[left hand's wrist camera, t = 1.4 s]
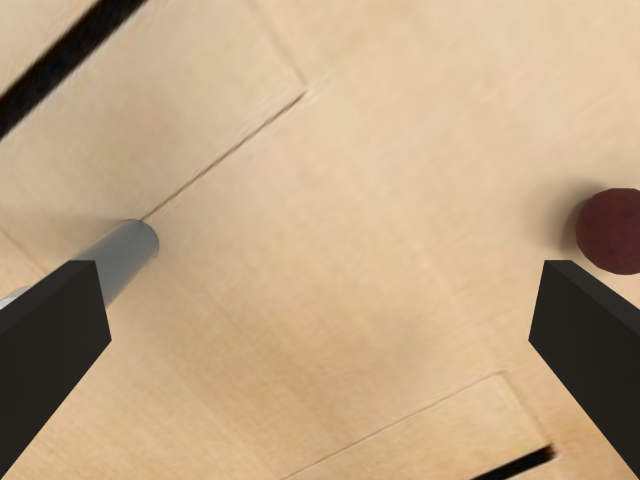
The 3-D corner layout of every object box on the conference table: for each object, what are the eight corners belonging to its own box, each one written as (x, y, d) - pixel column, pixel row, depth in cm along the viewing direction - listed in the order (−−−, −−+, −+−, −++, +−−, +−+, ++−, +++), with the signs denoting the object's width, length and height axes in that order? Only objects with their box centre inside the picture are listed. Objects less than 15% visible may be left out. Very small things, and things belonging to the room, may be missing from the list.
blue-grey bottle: (105, 221, 41) (-16, 301, 26) (153, 217, 41) (58, 295, 26) (118, 266, 43) (11, 364, 28) (164, 261, 43) (81, 358, 28)
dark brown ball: (577, 267, 43) (624, 302, 36) (547, 206, 40) (591, 230, 34) (649, 229, 41) (711, 258, 35) (621, 163, 39) (683, 180, 32)
